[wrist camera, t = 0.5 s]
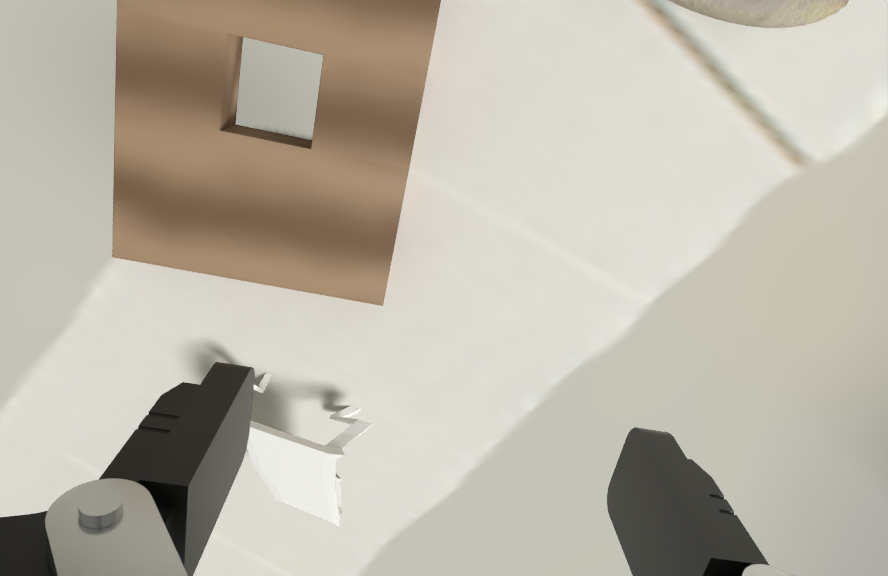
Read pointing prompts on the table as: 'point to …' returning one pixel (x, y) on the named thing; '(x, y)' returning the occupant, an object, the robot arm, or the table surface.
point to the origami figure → (302, 463)
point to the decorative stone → (765, 11)
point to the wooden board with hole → (267, 141)
